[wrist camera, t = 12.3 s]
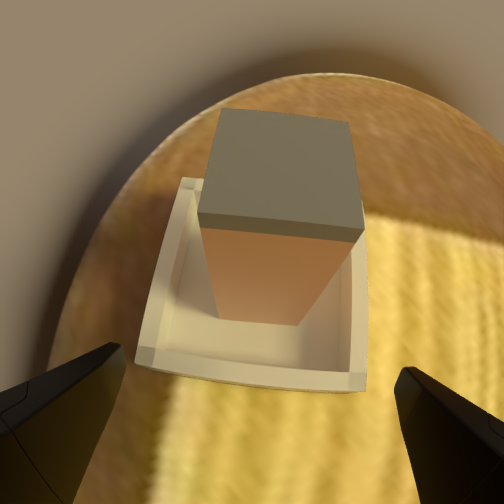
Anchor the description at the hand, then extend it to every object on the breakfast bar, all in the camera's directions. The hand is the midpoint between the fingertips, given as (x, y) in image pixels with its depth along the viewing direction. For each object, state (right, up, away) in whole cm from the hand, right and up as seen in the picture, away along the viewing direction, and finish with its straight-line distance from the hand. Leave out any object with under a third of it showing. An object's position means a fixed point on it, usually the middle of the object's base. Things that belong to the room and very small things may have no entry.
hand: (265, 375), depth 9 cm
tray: (0, +1, +11) cm, 11 cm away
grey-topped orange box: (0, +2, +10) cm, 10 cm away
